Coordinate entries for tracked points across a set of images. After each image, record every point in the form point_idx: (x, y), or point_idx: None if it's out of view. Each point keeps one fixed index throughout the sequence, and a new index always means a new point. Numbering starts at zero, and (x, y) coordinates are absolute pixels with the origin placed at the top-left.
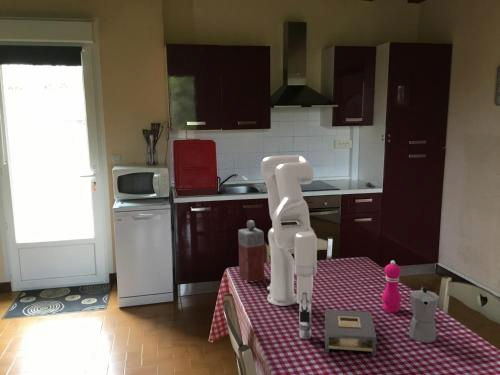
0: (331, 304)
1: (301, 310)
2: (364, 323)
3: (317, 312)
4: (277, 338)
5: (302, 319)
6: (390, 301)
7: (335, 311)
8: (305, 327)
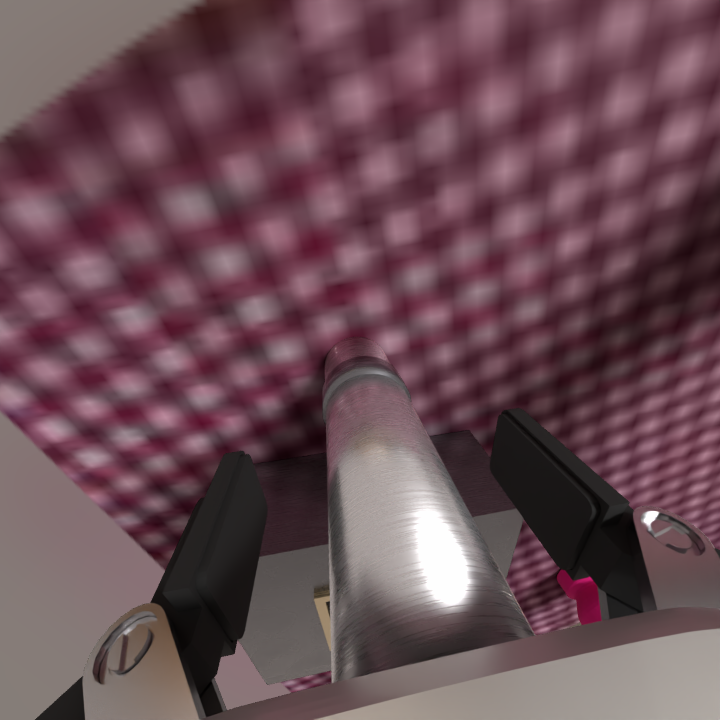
0: (667, 420)
1: (100, 662)
2: None
3: (606, 378)
4: (283, 198)
5: (198, 505)
6: (591, 620)
7: (497, 548)
8: (323, 415)
